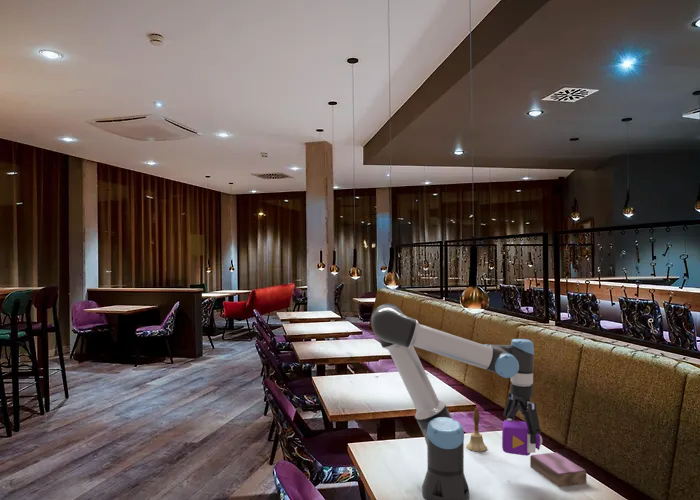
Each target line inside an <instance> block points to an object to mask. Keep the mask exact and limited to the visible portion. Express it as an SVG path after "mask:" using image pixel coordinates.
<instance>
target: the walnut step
mask: <svg viewBox="0 0 700 500" xmlns="http://www.w3.org/2000/svg"><path fill="white" fill-rule="evenodd" d="M529 457H530V460H529V461H530V464H529V465H530V468H531V469H532V470H534V471H536V472H537V473H539V474H540V475H541V476H542V477H544V478H545V479H546V480H548V481H549V482H551V483H552V484H554V485H555V486H557V487H558V488H560V487H567V486H568V487H569V486H576V485H582V484H587V471H586V469H585V468H583V467H581V466H579V465H577V464H576V463H574V462H573V461H571V460H570V459H568V458H566V457H564V456H563V455H562V454H560V453H558V452H557V451H556V452H546V453H541V454H540V453H538V454H530V455H529Z"/></svg>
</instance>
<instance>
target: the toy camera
mask: <svg viewBox="0 0 700 500" xmlns="http://www.w3.org/2000/svg"><path fill="white" fill-rule="evenodd" d="M501 432H502V433H501V435H502V437H501V447H502V451H503V452H504V453H507V454H511V455H519V456H525V457H526V456H531V453H528V452H527V433H528V432H529V430H528V427H527V424H526V421H523V420H522V421H520V420H515V419H513V420H512V419H507V420H506V419H504V420H503V422H502V431H501ZM542 444H543V437H542V436H541V434H536V448H535V449H537V450H538V451H539V450H540V448H541V446H542Z"/></svg>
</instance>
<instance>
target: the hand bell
mask: <svg viewBox="0 0 700 500" xmlns="http://www.w3.org/2000/svg"><path fill="white" fill-rule="evenodd" d="M480 418H481V417H480V410H479V408H478V407H475V408H474V410H473V415H472V419H473V422H474V423H473V424H474V430H473V431H474V432H472V433H470V438H469V442H468V443H467V444H466V446H465V447H466V449H467V450H468V451H472V452H476V453H479V452H482V453H483V452H486V451H487V450H488V447H487V445H486V444H485V443H484V438H483V434H481V433H480V431H479V430H480V429H479V423H480Z"/></svg>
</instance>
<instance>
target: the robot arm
mask: <svg viewBox="0 0 700 500" xmlns="http://www.w3.org/2000/svg"><path fill="white" fill-rule="evenodd" d="M370 324H371V328H372V332H373V334H374V335H375V336H376V338H377V339H378V341H379V343H380V345H381V347H382V349H384V350H388V352H389V354H390V357H391V359H392V361H393V363H394V365H395V368H396V369H397V372H398V374H399V376H400V377H401V379H402V382H403V384H404V386H405V388H406V391H407V393H408V395H409V396H410V399H411V401H412V403H413V405H414V408H415V410H416V412H415V415H414V417H415V419H416V422H417V424H418V426H419V428H420V430H421V433H422V436H423V437H424V440H425V444H426V449H427V454H426V455H427V458H426V459H427V470H426V473H425V476H424V479H423V482H422V486H421V494H422V497H423V498H424V499H425V500H470V488H469V485H468V482H467V479H466V476H465V473H464V470H465V469H464V468H465V467H464V463H465V462H464V459H465V458H464V454H465V453H464V447H465V446H464V441H465V433H464V427H463V424H461V423H460V421H458V420H456V419H454V418H453V416H451V413H450V411H449V409H448V407H447V405H446V402H444V401H443V400H439V398H438V396H437V394H436V392H435V388H434V387H433V385H432V383H431V381H430V378H429V377H428V376H427V373H426V370H425V368H424V366H423V365H422V362H421V360H420V357H419V356H418V354H417V352H416V350H415V348H418V349H421V350H424V351H427V352H430V353H434V354H437V355H439V356H442V357H443V356H444V357H446V358H449V359H453V360H456V361H458V362H462V363H465V364H467V365H471V366H474V367H477V368H479V369H480V368H481V369H483V370H487V371H488V372H491V373H495V374H497V375H498V376H500V377H502V378H504V379H509V378H510V382H511V383H510V388H509V389H510V392H507V400H506V403H505V407H504V410H503V413H502V415H503V417H505V420H507V419H512V420H516V418H515V417H516V416H517V413H518V412H519V411H520V413H521V415H523V417H524V420H525V421H524V422H526V424H527V427H528V430H529V432H528V433H527V452H528V453H530V454H534V453H536V449H537V448H536V434H540V435H541V434H542V433H541V432H542V431H541V426H540V421H539V417H538V412H537V404H536V402H531V398H532V397H533V395H534V386H533V384H534V358H535V347H534V343H533V341H532V340H530V339H524V338H513V339H512V340H511V343H510V344H489V343H486V344H482V343H479V342H475V341H474V340H470V339H468V338H463V337H461V336H457V335H454V334H451V333H448V332H446V331H443V330H440V329H436V328H433V327H431V326H428V325H424V324H420V323H419V321H418V320H417V319H415V318H412V317H410V316H408V315H406V314H404V313H403V312H402V310H401V309H400V307H398V306H397V305H395V304H393V303H392V304H391V303H384V304H382V305H379V306H378V307H376V308H375V309H374V310H373V311H372V314H371V317H370Z"/></svg>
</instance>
